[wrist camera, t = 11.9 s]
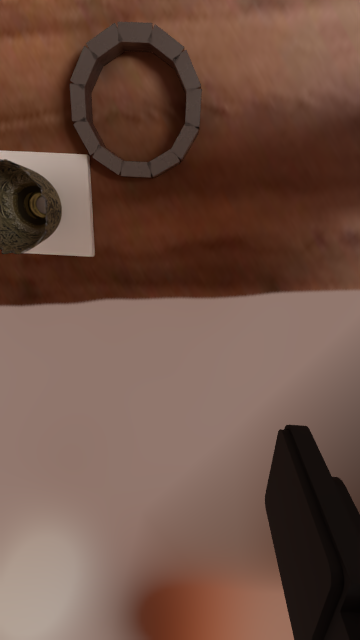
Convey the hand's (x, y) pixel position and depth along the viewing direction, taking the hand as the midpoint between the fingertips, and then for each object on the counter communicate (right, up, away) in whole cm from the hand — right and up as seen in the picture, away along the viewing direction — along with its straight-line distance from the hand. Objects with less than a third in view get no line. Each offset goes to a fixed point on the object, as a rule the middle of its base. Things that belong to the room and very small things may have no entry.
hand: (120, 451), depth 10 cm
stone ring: (-2, +24, +21) cm, 32 cm away
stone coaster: (-12, +16, +25) cm, 32 cm away
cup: (-12, +16, +24) cm, 31 cm away
